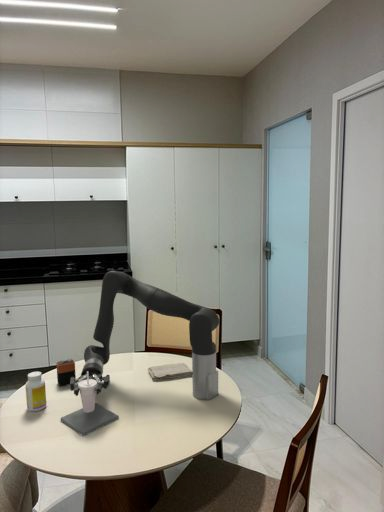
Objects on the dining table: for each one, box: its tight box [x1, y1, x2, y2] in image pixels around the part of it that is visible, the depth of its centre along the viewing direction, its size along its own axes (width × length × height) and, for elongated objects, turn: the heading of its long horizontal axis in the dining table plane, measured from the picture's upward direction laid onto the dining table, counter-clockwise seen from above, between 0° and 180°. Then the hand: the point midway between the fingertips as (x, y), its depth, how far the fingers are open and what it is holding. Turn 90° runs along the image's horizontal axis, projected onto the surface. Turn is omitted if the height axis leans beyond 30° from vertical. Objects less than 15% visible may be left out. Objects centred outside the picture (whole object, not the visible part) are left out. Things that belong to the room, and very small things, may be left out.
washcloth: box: [147, 362, 192, 382], centre depth 173 cm, size 12×18×3 cm, turn 109°
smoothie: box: [78, 371, 97, 413], centre depth 135 cm, size 6×6×14 cm
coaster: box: [60, 402, 119, 437], centre depth 136 cm, size 14×14×1 cm
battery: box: [56, 358, 77, 387], centre depth 164 cm, size 4×7×10 cm, turn 118°
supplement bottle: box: [25, 371, 47, 412], centre depth 144 cm, size 7×7×13 cm
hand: (87, 392), depth 133 cm, fingers closed on smoothie, 6 cm apart
